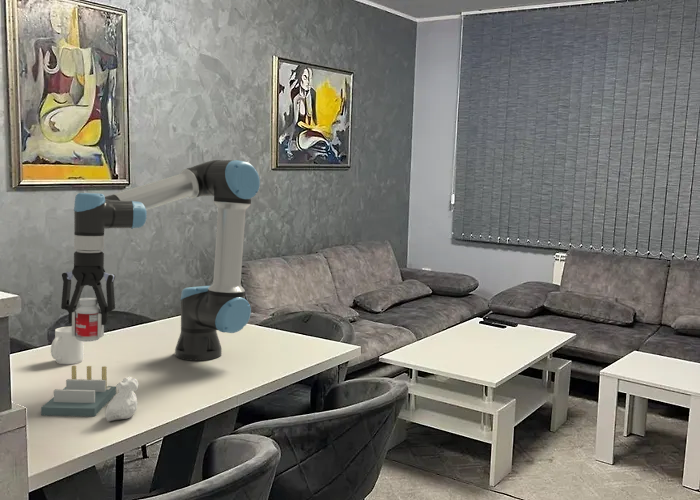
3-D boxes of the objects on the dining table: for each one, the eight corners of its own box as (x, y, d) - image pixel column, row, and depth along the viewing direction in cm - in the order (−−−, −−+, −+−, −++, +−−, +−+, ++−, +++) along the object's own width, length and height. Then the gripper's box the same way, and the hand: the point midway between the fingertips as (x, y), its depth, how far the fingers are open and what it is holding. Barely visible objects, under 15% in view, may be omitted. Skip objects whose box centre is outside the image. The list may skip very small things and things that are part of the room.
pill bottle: (71, 338, 189) (71, 298, 188) (92, 335, 193) (93, 296, 192) (82, 343, 185) (83, 301, 184) (104, 339, 189) (104, 299, 188)
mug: (62, 369, 212) (62, 335, 211) (40, 365, 215) (40, 332, 213) (89, 359, 223) (89, 328, 222) (68, 356, 226) (68, 325, 225)
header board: (116, 393, 191) (116, 364, 190) (94, 416, 173) (94, 384, 172) (67, 392, 190) (67, 363, 190) (41, 415, 173) (40, 383, 172)
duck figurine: (112, 434, 168) (140, 400, 166) (88, 413, 168) (116, 379, 166) (134, 417, 180) (160, 385, 178) (111, 398, 180) (137, 366, 178)
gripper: (129, 251, 191) (127, 334, 193) (58, 248, 190) (57, 331, 193) (120, 254, 183) (119, 340, 185) (47, 250, 183) (46, 337, 185)
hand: (87, 335), depth 189 cm, fingers closed on pill bottle, 6 cm apart
